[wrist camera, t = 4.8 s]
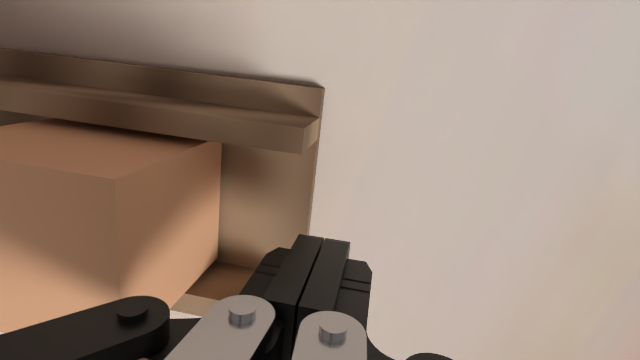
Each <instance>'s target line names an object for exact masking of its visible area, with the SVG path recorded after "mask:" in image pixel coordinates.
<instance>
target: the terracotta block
mask: <svg viewBox="0 0 640 360" xmlns="http://www.w3.org/2000/svg"><path fill="white" fill-rule="evenodd" d="M221 152H222V143H219V142H213V141H206V140H199V139H192V138H186V137H179V136H172V135H165V134H159V133H152V132H145V131H139V130H132V129H125V128H118V127H112V126H105V125H98V124H91V123H85V122H78V121H71V120H64V119H58V118H50V119H44V120H37V121H31V122H24V123H17V124H11V125H4V126H0V332H4V333H8V332H11V331H15V330H18V329H21V328H25V327H28V326H31V325H35V324H38V323H42V322H45V321H48V320H52V319H55V318H58V317H62V316H65V315H68V314H72V313H75V312H79V311H82V310H85V309H89V308H92V307H95V306H99V305H102V304H105V303H109V302H112V301H115V300H119V299H122V298H126V297H131V296H152V297H156V298H159V299H161V300H163V301H164V302H165V303H167V305H168V306H169V309H170V308H171V307H172V306H173V305H174V304H175V303H176V302H177V301H178V300H179V299H180V297H181V296H182V295H183V294H184V293H185V292H186V291H187V290H188V289H189V288H190V287H191V286H192V284H193V283H194V282H195V281H196V280H197V279H198V278H199V277H200V276H201V275H202V274H203V273H204V271H205V270H206V269H207V268H208V267H209V266H210V265H211V264H212V263H213V262H214V261H215V260H216V258H217V257H218V231H219V204H220V178H221Z"/></svg>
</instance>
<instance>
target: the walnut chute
mask: <svg viewBox="0 0 640 360" xmlns="http://www.w3.org/2000/svg"><path fill="white" fill-rule="evenodd" d="M324 91H325V88H318V87H310V86H302V85H294V84H286V83H278V82H270V81H262V80H254V79H246V78H238V77H230V76H221V75H213V74H205V73H197V72H189V71H181V70H173V69H165V68H157V67H149V66H141V65H133V64H125V63H117V62H109V61H101V60H93V59H85V58H76V57H68V56H60V55H52V54H44V53H36V52H28V51H20V50H12V49H4V48H0V126H4V125H11V124H17V123H24V122H31V121H37V120H44V119H50V118H58V119H64V120H71V121H78V122H85V123H91V124H98V125H105V126H112V127H118V128H125V129H132V130H139V131H145V132H152V133H159V134H165V135H172V136H179V137H186V138H192V139H199V140H206V141H213V142H219V143H222V152H221V178H220V204H219V231H218V257H217V258H216V260H215V261H214V262H213V263H212V264H211V265H210V266H209V267H208V268H207V269H206V270H205V271H204V273H203V274H202V275H201V276H200V277H199V278H198V279H197V280H196V281H195V282H194V283H193V284H192V286H191V287H190V288H189V289H188V290H187V291H186V292H185V293H184V294H183V295H182V296H181V297H180V299H179V300H178V301H177V302H176V303H175V304H174V305H173V306H172V307H171V308H170V309H169V310H174V311H178V312H183V313H188V314H192V315H197V316H202V317H203V316H204V315H205V314H206V313H207V312H208V310H209V309H210V308H211V307H212V306H213V305H214V304H215V303H217V302H218V301H220V300H222V299H224V298H227V297H230V296H235V295H239V293H240V292H241V290H242V289H243V287H244V286H245V284H246V283H247V281H248V280H249V278H250V277H251V276H252V274H253V273H254V272H255V270H256V268H257V267H258V265H260V262H261V261H262V259H263V258H264V256H265V255H266V254H267V253H269V252H270V251H272V250H274V249H276V248H278V247H282V248H287V249H291V247H292V245H293V244H294V242H295V240H296V238H297V237H298V235H299V234H303V235H309V228H310V219H311V210H312V201H313V192H314V182H315V173H316V164H317V155H318V146H319V137H320V128H321V118H322V109H323V100H324Z"/></svg>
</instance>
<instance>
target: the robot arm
mask: <svg viewBox="0 0 640 360" xmlns="http://www.w3.org/2000/svg"><path fill="white" fill-rule="evenodd" d="M349 250H350V242H346V241H340V240H334V239H328V238H325V240H324V238H321V237H315V236H309V235H303V234H299V235H298V237H297V238H296V240H295V242H294V244H293V245H292V247H291V249H287V248H282V247H278V248H276V249H274V250H272V251H270V252H269V253H267V254H266V255H265V256H264V258H263V259H262V261H261V262H260V265H258V267H257V268H256V270H255V272H254V273H253V274H252V276H251V277H250V278H249V280H248V281H247V283H246V284H245V286H244V287H243V289H242V290H241V292H240V293H239V295H235V296H230V297H227V298H224V299H222V300H220V301H218V302H217V303H215V304H214V305H213V306H212V307H211V308H210V309H209V310H208V312H207V313H206V314H205V315H204V316H203V317H202V318H191V319H170V310H169V306H168V305H167V303H165V302H164V301H163V300H161V299H159V298H156V297H152V296H131V297H126V298H122V299H119V300H115V301H112V302H109V303H105V304H102V305H99V306H95V307H92V308H89V309H85V310H82V311H79V312H75V313H72V314H68V315H65V316H62V317H58V318H55V319H52V320H48V321H45V322H42V323H38V324H35V325H31V326H28V327H25V328H21V329H18V330H15V331H11V332H8V333H5V334H1V335H0V360H394V359H392V358H390V357H388V356H386V355H385V354H383V353H382V352H380V351H379V350H378V349H377V348H376V347H375V346H374V345H373V344H372V343H371V341H370V340H369V338H368V336H367V332H366V327H367V317H368V307H369V298H370V288H371V279H372V271H371V269H370V268H369V266H368V265H367V263H366V262H364V261H358V260H352V259H348V258H349ZM406 360H452V359H450V358H448V357H445V356H442V355H439V354H433V353H419V354H415V355H412V356H410V357H409V358H407V359H406Z"/></svg>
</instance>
